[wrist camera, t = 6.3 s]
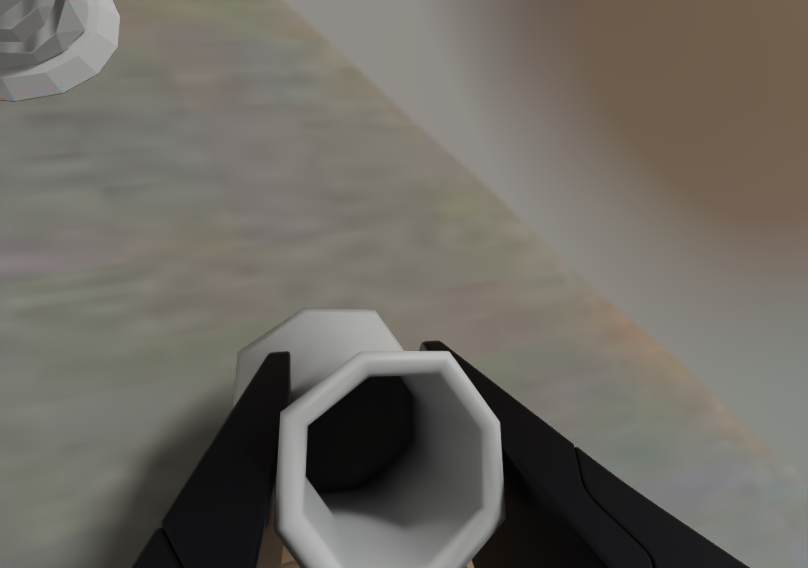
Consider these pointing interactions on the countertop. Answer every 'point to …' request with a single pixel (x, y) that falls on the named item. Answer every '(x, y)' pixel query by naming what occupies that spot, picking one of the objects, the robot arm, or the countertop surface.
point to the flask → (378, 447)
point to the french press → (53, 44)
